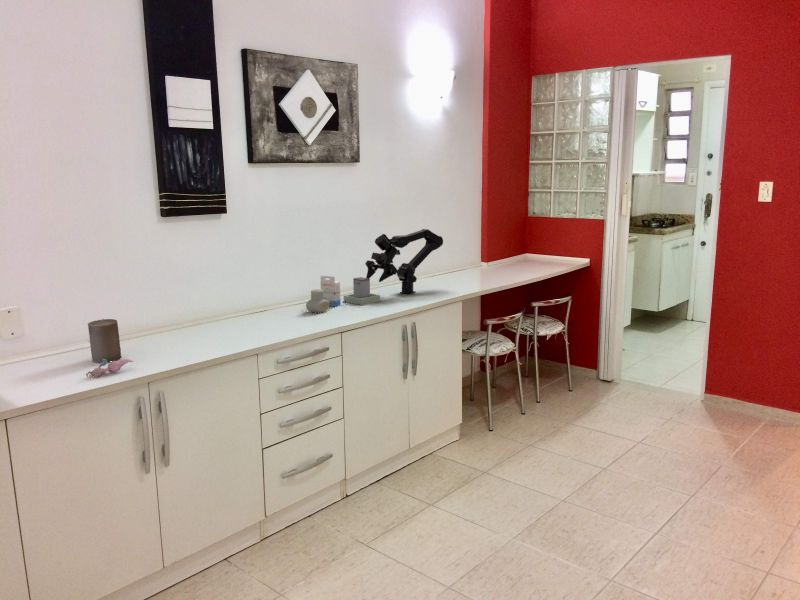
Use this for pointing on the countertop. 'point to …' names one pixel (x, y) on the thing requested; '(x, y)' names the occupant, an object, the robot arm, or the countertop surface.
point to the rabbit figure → (111, 368)
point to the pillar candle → (104, 340)
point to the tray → (361, 299)
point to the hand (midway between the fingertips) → (373, 280)
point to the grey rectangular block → (361, 287)
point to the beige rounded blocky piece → (317, 302)
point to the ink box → (331, 290)
